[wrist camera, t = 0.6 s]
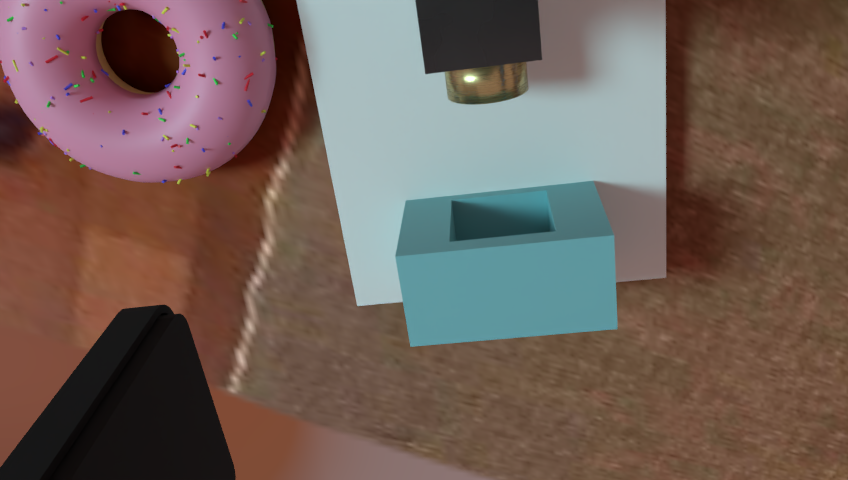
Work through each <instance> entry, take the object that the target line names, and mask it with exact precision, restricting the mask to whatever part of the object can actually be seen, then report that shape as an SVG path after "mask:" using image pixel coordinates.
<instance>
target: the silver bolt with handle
mask: <svg viewBox="0 0 848 480" xmlns="http://www.w3.org/2000/svg"><path fill="white" fill-rule="evenodd" d="M415 2H416V9H417V17H418V24H419V32H420V39H421V46H422V54H423V61H424V68H425V74H431V73H439V72H445V80H446V88H447V96H448V99H449V100H450V101H452V102H454V103H459V104H469V105H476V104H489V103H496V102H501V101H506V100H510V99H513V98H516V97H518V96H521V95H522V94H524V93H526V92H527V91H528V75H527V63H526V62H529V61H537V60H542V51H541V37H540V22H539V8H538V0H415Z"/></svg>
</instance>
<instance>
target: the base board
mask: <svg viewBox="0 0 848 480" xmlns="http://www.w3.org/2000/svg"><path fill="white" fill-rule="evenodd" d="M296 2H297V7H298V12H299V17H300V22H301V27H302V32H303V37H304V42H305V47H306V52H307V57H308V62H309V67H310V72H311V77H312V82H313V87H314V92H315V97H316V102H317V107H318V112H319V117H320V122H321V127H322V132H323V137H324V142H325V147H326V152H327V157H328V162H329V167H330V172H331V177H332V182H333V187H334V192H335V197H336V202H337V207H338V212H339V217H340V222H341V227H342V232H343V237H344V242H345V247H346V252H347V257H348V262H349V267H350V272H351V277H352V282H353V287H354V292H355V297H356V302H357V306H363V305H374V304H385V303H395V302H403V299H402V293H401V287H400V281H399V276H398V270H397V264H396V258H395V255H396V250H397V245H398V239H399V234H400V228H401V223H402V218H403V212H404V207H405V201H406V200H415V199H424V198H434V197H443V196H453V195H462V194H472V193H481V192H491V191H500V190H510V189H519V188H529V187H538V186H548V185H557V184H566V183H576V182H585V181H594V184H595V187H596V189H597V192H598V194H599V197H600V200H601V202H602V205H603V207H604V210H605V213H606V215H607V218H608V220H609V223H610V226H611V228H612V231H613V233H614V244H615V273H616V282H624V281H635V280H646V279H657V278H666V0H538V8H539V22H540V37H541V51H542V60H537V61H529V62H526V63H527V75H528V91H527V92H526V93H524V94H522V95H521V96H518V97H516V98H513V99H510V100H506V101H501V102H496V103H489V104H476V105H469V104H459V103H454V102H452V101H450V100H449V99H448V96H447V88H446V80H445V72H439V73H431V74H425V68H424V61H423V54H422V46H421V39H420V32H419V24H418V17H417V9H416V2H415V0H296Z"/></svg>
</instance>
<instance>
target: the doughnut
mask: <svg viewBox="0 0 848 480" xmlns="http://www.w3.org/2000/svg"><path fill="white" fill-rule="evenodd" d="M129 9H133V10H140V11H143V12H146V13H148V14H150V15H151V16H152V17H153V19H155V20H156V21H157V22H160V23H161V24H163V25H164V26H165V27H166V30H167V31H169V32H170V34H168V36H169V37H170V38H171V39H174V41H175V44H176V46H177V49H176V51H177V54H179V70H178V71H176V73H177V75H176V77H175V79H174V80H173V82H172V83H170V84H167V85H165V87H166V88H165V89H163V90H161V91H159V92H156V93H150V92H144V91H140V90H137V89H135V88H133V87H131V86H129V85H128V84H126V83H125V82H124V81H122V80H121V79H120V78H119V77H118V76H117V75H116V74H115V73H114V71H113V70H112V69H111V67H110V66H109V64H108V62H107V60H106V58H105V56H104V53H103V49H102V44H101V32H102V31H104V30H103V29H102V28H103V24H104V22H105V20H106V19H107V18H108V17H109V16H110V15H112V14H114V13H116V12H118V11H122V10H129ZM271 27H272V28H273V25H271V23H270V19H269V17H268V14H267V12H266V9H265V6H264V4H263V2H262V0H0V63H1V65H2V68H3V71H4V73H5V76H4V78H5V80H4V81H3V82H5V83H6V82H8V84H9V85H10V87H11V89H12V91H13V93H14V95H15V97H16V101H15V103H19V104H20V106H21V107H22V109H23V111H24V112H25V113H26V115H27V116H28V117H29V119H30V120H31V121H32V122H33V124H34V125H35V126H36V127H37V128H38V129H39V130H40V132H39V133H38V135H41V134H42V136H46V137H47V138H48V140H49V141H50V142H51V143H52V144H53V145H54V146H55V147H56V146H58V147H59V149H61V150H62V151H64V152H65V153H64V154H65V155H66V154H68V155H69V156H71V157H72V158H70V159H69V160H70V161H72V160H74V159H75V160H77V161H78V162H80V163H82V164H83V165H80V167H81V168H82V167H84V166H88V167H89V169H94V170H96V171H99V172H102V173H105V174H107V175H111V176H114V177H118V178H122V179H126V180H131V181H137V182H162V183H165V182H166V181H177V180H178V182H177V184H180V182H181V180H184V179H189V178H193V177H197V176H200V175H203V174H205V173H207V174H206V176H209V174H210V173H211V171H212V170H214V169H216V168H218V167H220V166H222V165H223V164H225V163H226V162H228V161H229V160H231V159H232V158H233V157H234V156H235V157H236V158H237V157H238V156H237V154H238V153H239V152H240V151H241V150H242V149H243V148H244V147H245V146H246V145H247V144H248V143H249V142H250V140H251V139H252V138H253V137H254V135H255V134H256V132H257V131H258V129H259V127H260V126H261V124H262V122H263V120H264V118H265V115H266V113H267V110H268V108H269V105H270V101H271V98H272V94H273V90H274V85H275V79H276V60H277V59H278V58H277V57H275V46H274V38H273V33H272V28H271Z"/></svg>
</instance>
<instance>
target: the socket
mask: <svg viewBox="0 0 848 480" xmlns="http://www.w3.org/2000/svg"><path fill="white" fill-rule="evenodd" d="M395 258H396V264H397V270H398V276H399V281H400V287H401V293H402V299H403V305H404V311H405V317H406V323H407V328H408V334H409V340H410V346H411V347H412V346H424V345H436V344H447V343H459V342H471V341H482V340H494V339H506V338H517V337H529V336H541V335H553V334H564V333H576V332H588V331H599V330H611V329H617V302H616V273H615V244H614V233H613V231H612V228H611V226H610V223H609V220H608V218H607V215H606V213H605V210H604V207H603V205H602V202H601V200H600V197H599V194H598V192H597V189H596V187H595V184H594V181H585V182H576V183H566V184H557V185H548V186H538V187H529V188H519V189H510V190H500V191H491V192H481V193H472V194H462V195H453V196H443V197H434V198H424V199H415V200H406V201H405V207H404V212H403V218H402V223H401V228H400V234H399V239H398V245H397V250H396V255H395Z"/></svg>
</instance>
